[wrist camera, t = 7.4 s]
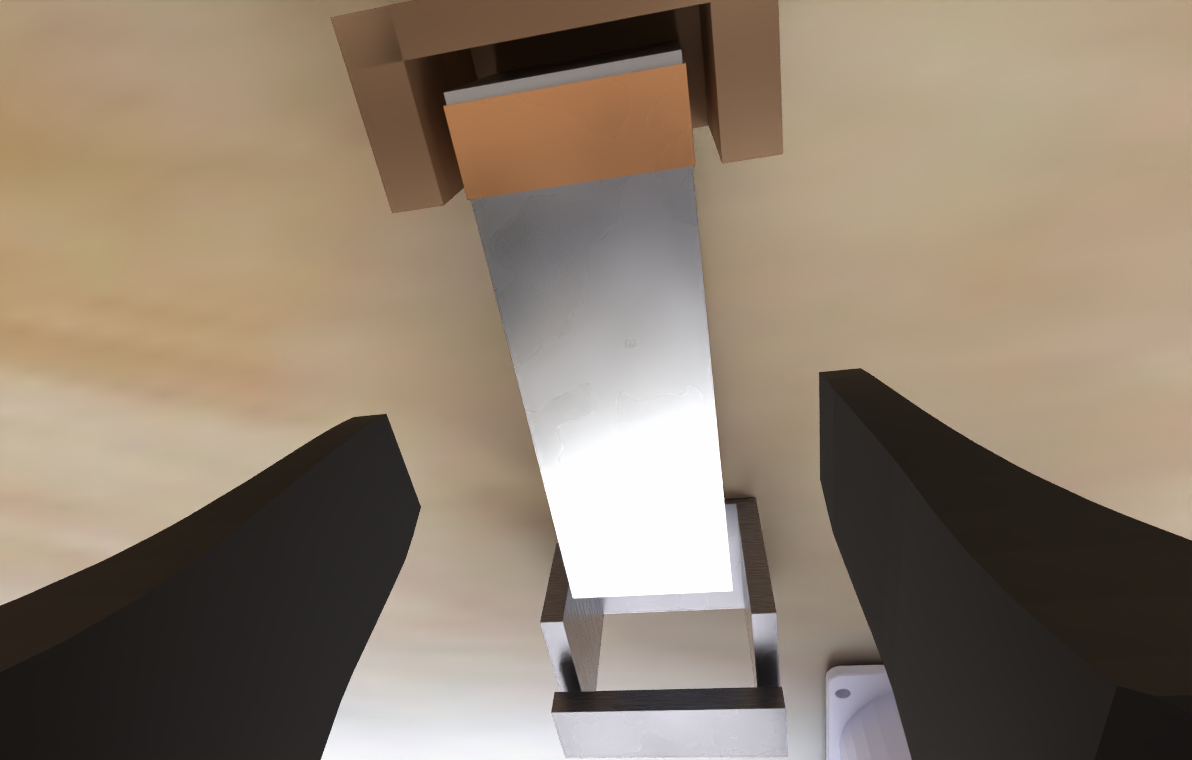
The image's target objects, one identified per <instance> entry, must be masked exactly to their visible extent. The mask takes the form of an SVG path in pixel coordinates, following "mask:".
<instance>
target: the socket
mask: <svg viewBox="0 0 1192 760" xmlns="http://www.w3.org/2000/svg"><path fill="white" fill-rule="evenodd" d="M331 21H332V24H333V27H334V30H335V33H336V37H337V40H338V43H339V46H340V49H341V52H342V56H343V59H344V62H345V65H346V68H347V71H348V75H349V78H350V81H351V84H352V87H353V90H354V94H355V97H356V100H357V103H358V106H359V109H360V113H361V116H362V119H363V122H364V125H365V128H366V132H367V135H368V138H369V141H370V144H371V147H372V151H373V154H374V157H375V160H376V163H377V166H378V170H379V173H380V176H381V179H382V182H383V185H384V189H385V192H386V195H387V198H388V201H389V205H390V208H391V211H392V213H397V212H403V211H410V210H417V209H423V208H430V207H436V206H443V205H445V204H446V203H447V202H448V201H449V200H450V199H451V198H453V197H454V196H455V195H456V194H457V193H458V192H459V191H461V190H462V189H463V188H464V185H463V181H462V177H461V173H460V169H459V165H458V161H457V158H456V154H455V150H454V146H453V142H452V138H451V134H450V130H449V127H448V123H447V119H446V115H445V111H444V107H443V106H445V105H447V104H446V100H445V96H444V92H447V91H449V90H452V89H455V88H457V87H460V86H463V85H466V84H468V83H471V82H474V81H476V80H479V79H482V78H484V77H487V76H490V75H492V74H495V73H499V72H504V71H510V70H515V69H521V68H526V67H532V66H537V65H543V64H548V63H553V62H559V61H564V60H570V59H575V58H581V57H586V56H592V55H597V54H603V53H608V52H614V51H619V50H624V49H630V48H635V47H641V46H646V45H652V44H657V43H663V42H668V41H674V40H678V42H679V45H680V47H681V51H682V54H683V56H684V59H685V62H686V70H687V81H688V92H689V103H690V113H691V124H692V128H696V127H702V126H708V125H709V128H710V130H711V133H712V136H713V139H714V142H715V144H716V147H717V150H718V153H719V155H720V158H721V161H722V163H728V162H734V161H741V160H748V159H754V158H761V157H767V156H774V155H781V154H783V138H782V106H781V74H780V42H779V10H778V0H413V1H408V2H403V3H398V4H393V5H389V6H384V7H379V8H374V9H369V10H364V11H360V12H355V13H350V14H345V15H340V16H335V17H331Z"/></svg>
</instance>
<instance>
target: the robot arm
mask: <svg viewBox="0 0 1192 760" xmlns="http://www.w3.org/2000/svg"><path fill="white" fill-rule="evenodd" d="M819 397H820V480H821V484H822V489H823V493H824V497H825V502H826V506H827V510H828V514H829V518H830V522H831V526H832V530H833V534H834V537H835V539H836V542H837V545H838V547H839V550H840V552H841V555H842V558H843V560H844V563H845V566H846V568H847V571H848V573H849V576H850V579H851V581H852V584H853V586H854V589H855V591H856V594H857V597H858V599H859V602H860V604H861V607H862V609H863V612H864V614H865V617H866V620H867V622H868V625H869V627H870V630H871V632H872V635H873V638H874V640H875V643H876V645H877V648H878V650H879V653H880V656H881V658H882V661H883V664H884V665H854V666H836V667H834V668H831V669H830V670H829V671H828V672H827V674H826V760H1192V540H1189V539H1186V538H1183V537H1181V536H1178V535H1175V534H1173V533H1170V532H1168V531H1165V530H1162V529H1160V528H1157V527H1154V526H1152V525H1149V524H1147V523H1144V522H1141V521H1139V520H1136V519H1133V518H1131V517H1128V516H1126V515H1123V514H1121V513H1118V512H1116V511H1113V510H1111V509H1109V508H1106V507H1104V506H1101V505H1099V504H1097V503H1094V502H1092V501H1090V500H1087V499H1085V498H1083V497H1081V496H1079V495H1077V494H1074V493H1072V492H1070V491H1068V490H1066V489H1064V488H1061V487H1059V486H1057V485H1055V484H1053V483H1051V482H1049V481H1046V480H1044V479H1042V478H1040V477H1038V476H1036V475H1034V474H1032V473H1030V472H1028V471H1026V470H1024V469H1022V468H1020V467H1018V466H1016V465H1014V464H1012V463H1011V462H1009V461H1007V460H1005V459H1003V458H1002V457H1000V456H998V455H996V454H994V453H993V452H991V451H989V450H987V449H985V448H984V447H982V446H980V445H978V444H977V443H975V442H973V441H971V440H970V439H968V438H966V437H965V436H963V435H961V434H960V433H958V432H956V431H955V430H953V429H952V428H950V427H948V426H947V425H945V424H944V423H942V422H940V421H939V420H937V419H936V418H934V417H933V416H931V415H930V414H928V413H926V412H925V411H923V410H922V409H920V408H919V407H917V406H916V405H914V404H913V403H912V402H910V401H909V400H907V399H906V398H904V397H903V396H901V395H900V394H898V393H897V392H895V391H894V390H893V389H891V388H890V387H888V386H887V385H885V384H884V383H882V382H881V381H880V380H878V379H877V378H875V377H874V376H872V375H871V374H869V373H868V372H866V371H864V370H863V369H861V368H859V369H849V370H838V371H828V372H819ZM420 508H421V506H420V503H419V501H418V498H417V495H416V493H415V490H414V487H413V485H412V482H411V479H410V476H409V474H408V471H407V468H406V466H405V463H404V460H403V457H402V455H401V452H400V449H399V447H398V444H397V441H396V439H395V436H394V433H393V430H392V428H391V425H390V422H389V420H388V417H387V414H381V415H371V416H360V417H353V418H351V419H349V420H347V421H345V422H343V423H341V424H339V425H337V426H335V427H333V428H331V429H330V430H328V431H326V432H325V433H323V434H321V435H319V436H318V437H316V438H315V439H313V440H311V441H310V442H308V443H306V444H305V445H303V446H302V447H300V448H298V449H297V450H295V451H294V452H292V453H291V454H289V455H287V456H286V457H284V458H283V459H281V460H279V461H278V462H276V463H275V464H273V465H272V466H270V467H268V468H267V469H265V470H264V471H262V472H261V473H259V474H257V475H256V476H254V477H253V478H251V479H249V480H248V481H246V482H245V483H243V484H241V485H240V486H238V487H236V488H235V489H233V490H231V491H230V492H228V493H226V494H225V495H223V496H221V497H220V498H218V499H216V500H215V501H213V502H211V503H210V504H208V505H206V506H205V507H203V508H201V509H200V510H198V511H196V512H194V513H193V514H191V515H189V516H188V517H186V518H184V519H183V520H181V521H179V522H177V523H175V524H174V525H172V526H170V527H168V528H166V529H164V530H163V531H161V532H159V533H157V534H155V535H153V536H151V537H149V538H147V539H146V540H144V541H142V542H140V543H138V544H136V545H134V546H132V547H130V548H128V549H126V550H124V551H122V552H120V553H118V554H116V555H114V556H112V557H110V558H108V559H106V560H104V561H102V562H99V563H97V564H95V565H93V566H91V567H88V568H86V569H84V570H82V571H79V572H77V573H75V574H73V575H70V576H68V577H66V578H64V579H61V580H59V581H57V582H55V583H52V584H50V585H48V586H46V587H43V588H41V589H39V590H37V591H34V592H32V593H30V594H28V595H25V596H23V597H21V598H18V599H16V600H13V601H11V602H8V603H6V604H3V605H1V606H0V760H321V757H322V754H323V751H324V748H325V745H326V743H327V740H328V737H329V734H330V731H331V728H332V725H333V722H334V720H335V717H336V714H337V711H338V708H339V705H340V702H341V700H342V697H343V695H344V693H345V690H346V688H347V685H348V683H349V681H350V678H351V676H352V674H353V671H354V669H355V667H356V665H357V663H358V661H359V659H360V656H361V654H362V652H363V650H364V648H365V646H366V644H367V642H368V639H369V637H370V635H371V633H372V631H373V629H374V627H375V625H376V622H377V620H378V618H379V616H380V614H381V612H382V610H383V607H384V605H385V603H386V601H387V599H388V597H389V595H390V592H391V590H392V588H393V586H394V584H395V581H396V579H397V577H398V575H399V573H400V570H401V568H402V566H403V564H404V561H405V559H406V556H407V553H408V550H409V547H410V544H411V541H412V537H413V534H414V530H415V527H416V523H417V519H418V516H419V512H420Z"/></svg>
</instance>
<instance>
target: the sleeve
mask: <svg viewBox="0 0 1192 760" xmlns="http://www.w3.org/2000/svg"><path fill="white" fill-rule="evenodd" d="M724 505H725V515H726V526H727V536H728V547H729V557H730V568H731V578H732V589H733V591H719V592H698V593H677V594H655V595H634V596H613V597H591V598H573V596H572V592H571V588H570V585H569V581H568V577H567V573H566V569H565V565H564V561H563V557H562V553H561V549H560V545H559V542H558V539H557V544H556V549H555V554H554V558H553V563H552V568H551V573H550V578H549V583H548V587H547V592H546V597H545V602H544V607H543V611H542V616H541V621H540V624H541V627H542V631H543V634H544V637H545V641H546V644H547V648H548V651H549V654H550V658H551V661H552V664H553V668H554V671H555V675H556V678H557V681H558V685H559V688H560V691H561V692H555V693H554V700H553V706H552V712H551V713H552V716H553V720H554V723H555V726H556V729H557V732H558V735H559V739H560V742H561V745H562V748H563V751H564V755H565V758H632V757H785V756H788V752H787V731H786V710H785V703H784V697H783V691H782V687H780V674H779V655H778V635H777V616H776V609H775V603H774V597H773V592H772V586H771V581H770V575H769V570H768V564H767V559H766V553H765V548H764V542H763V537H762V531H761V526H760V520H759V514H758V509H757V503H756V498H747V499H732V500H724ZM738 608H745V613H746V621H747V629H748V636H749V644H750V652H751V659H752V667H753V675H754V683H755V688H712V689H669V690H626V691H596V684H597V675H598V665H599V656H600V646H601V637H602V627H603V618H604V614H620V613H644V612H667V611H691V610H714V609H738Z"/></svg>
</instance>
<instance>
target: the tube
mask: <svg viewBox="0 0 1192 760" xmlns="http://www.w3.org/2000/svg"><path fill="white" fill-rule="evenodd" d="M444 96H445V100H446V104H447V105H445V106H443V107H444V111H445V115H446V119H447V123H448V127H449V130H450V134H451V138H452V142H453V146H454V150H455V154H456V158H457V161H458V165H459V169H460V173H461V177H462V181H463V185H464V189H465V192H466V196H467V200H471V202H472V206H473V209H474V213H475V217H476V221H477V225H478V229H479V233H480V237H481V241H482V245H483V248H484V252H485V256H486V260H487V264H488V268H489V272H490V276H491V280H492V284H493V288H494V291H495V295H496V299H497V303H498V307H499V311H500V315H501V319H502V323H503V327H504V331H505V334H506V338H507V342H508V346H509V350H510V354H511V358H512V362H513V366H514V370H515V374H516V377H517V381H518V385H519V389H520V393H521V397H522V401H523V405H524V409H525V413H526V417H527V420H528V424H529V428H530V432H531V436H532V440H533V444H534V448H535V452H536V456H537V459H538V463H539V467H540V471H541V475H542V479H543V483H544V487H545V491H546V495H547V499H548V502H549V506H550V510H551V514H552V518H553V522H554V526H555V530H556V534H557V538H558V542H559V545H560V549H561V553H562V557H563V561H564V565H565V569H566V573H567V577H568V581H569V585H570V588H571V592H572V596H573V598H591V597H613V596H634V595H655V594H677V593H698V592H719V591H733V589H732V578H731V568H730V557H729V547H728V536H727V526H726V515H725V505H724V494H723V484H722V473H721V462H720V452H719V441H718V431H717V420H716V410H715V399H714V389H713V378H712V368H711V357H710V347H709V336H708V326H707V315H706V304H705V294H704V283H703V273H702V262H701V252H700V241H699V231H698V220H697V210H696V199H695V189H694V178H693V167H692V166H695V157H694V146H693V135H692V124H691V113H690V103H689V92H688V81H687V70H686V62H685V59H684V56H683V54H682V51H681V47H680V45H679V42H678V40H674V41H668V42H663V43H657V44H652V45H646V46H641V47H635V48H630V49H624V50H619V51H614V52H608V53H603V54H597V55H592V56H586V57H581V58H575V59H570V60H564V61H559V62H553V63H548V64H543V65H537V66H532V67H526V68H521V69H515V70H510V71H504V72H499V73H495V74H492V75H490V76H487V77H484V78H482V79H479V80H476V81H474V82H471V83H468V84H466V85H463V86H460V87H457V88H455V89H452V90H449V91H447V92H444Z"/></svg>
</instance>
